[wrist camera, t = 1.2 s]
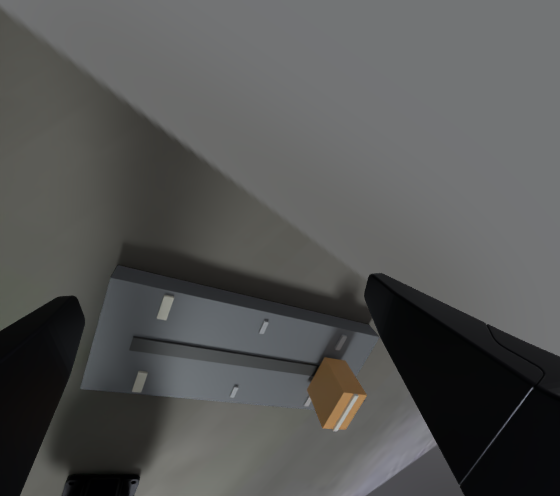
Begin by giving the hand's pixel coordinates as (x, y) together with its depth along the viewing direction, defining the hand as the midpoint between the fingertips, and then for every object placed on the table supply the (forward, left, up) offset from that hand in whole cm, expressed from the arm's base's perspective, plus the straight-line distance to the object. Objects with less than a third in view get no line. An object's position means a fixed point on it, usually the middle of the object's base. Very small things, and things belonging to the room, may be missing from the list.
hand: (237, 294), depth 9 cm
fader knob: (-12, -15, -11) cm, 22 cm away
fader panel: (-12, -7, -14) cm, 20 cm away
